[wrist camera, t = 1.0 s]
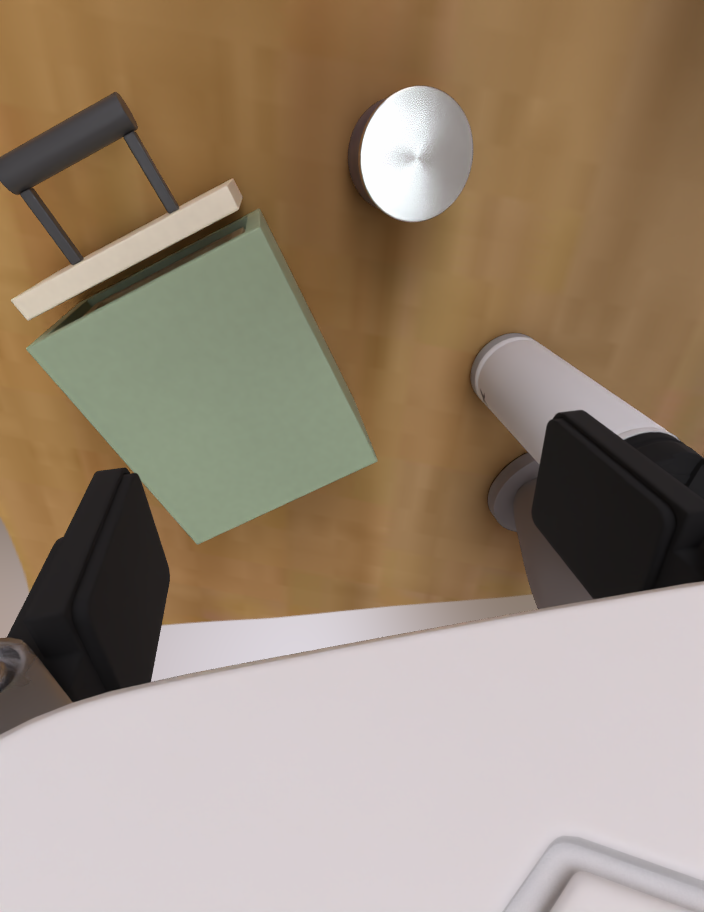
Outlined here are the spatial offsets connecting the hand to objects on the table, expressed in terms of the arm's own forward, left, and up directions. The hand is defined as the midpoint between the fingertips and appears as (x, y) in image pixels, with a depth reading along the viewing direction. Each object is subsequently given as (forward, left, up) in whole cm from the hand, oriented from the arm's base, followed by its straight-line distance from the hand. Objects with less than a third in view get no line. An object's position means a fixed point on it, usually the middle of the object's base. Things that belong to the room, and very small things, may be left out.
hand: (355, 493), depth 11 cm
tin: (-6, +8, -27) cm, 29 cm away
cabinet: (+6, -5, -27) cm, 29 cm away
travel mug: (+10, +17, -28) cm, 34 cm away
